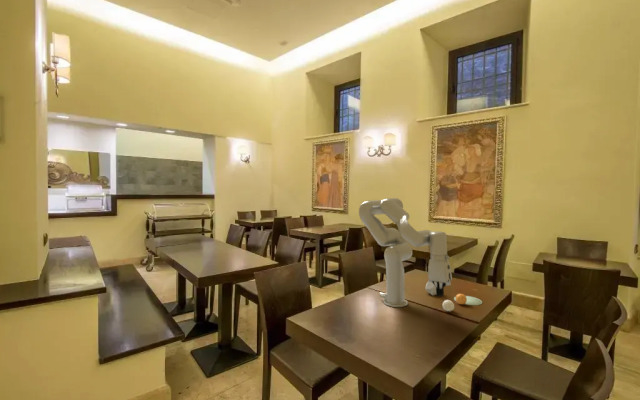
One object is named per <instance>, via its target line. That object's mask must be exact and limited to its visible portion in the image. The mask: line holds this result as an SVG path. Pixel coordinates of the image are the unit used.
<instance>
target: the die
mask: <svg viewBox="0 0 640 400" xmlns="http://www.w3.org/2000/svg"><path fill="white" fill-rule="evenodd" d="M424 289H425V291H426V292H427V293H428V294H430V295H431V296H435V295H436V296H437V293H436V287H435V285H434V284H433V283H431V282H429V280H428V281H427V282H426V284H425V288H424Z"/></svg>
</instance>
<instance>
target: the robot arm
mask: <svg viewBox="0 0 640 400" xmlns="http://www.w3.org/2000/svg"><path fill="white" fill-rule="evenodd" d="M376 215H377V216H378V215H379V216H380V215H385V216H387V217H388V218H389V219H390V220H391V221H392V222H393V223H394V224H395V225H396V226H397V228H394V227H386V226H385V225H384V224H383V223H382V221H381V219H379V218H378V217H377V216H376ZM358 216H359V219H360V222H362V223H363V225H364V226H365V227H366V229H367V230H368V231H369V232H370V234H371V236H372V237H373V239H374V240H375V241H376V242H377V245H379V246H381V247H386V248H385V250H384V252H383V253H384V254H383V257H384V261H385V276H386V281H385V284H386V288H385V290H386V293H385V292H379V297H380V298H383V304H385V305H386V306H388V307H393V308H403V307H407V306H408V300H407V299H405V268H404V264H403V262H404V261H407V260H409V259H411V257H412V256H413V249H412V247H414V248H415V247H416V248H421V247H426V246H429V251H430V252H429V253H430V254H429V255H430V259H429V260H428V266H427V277H428V281H429V282H431V283H433V284H434V285H435V287H436V293H437V294H436V297H439V298H440V297H443V296H444V294H445V292H444V290H445V289H444V288H445V287H446V286H451V285H452V282H451V281H452V280H453V279H452V278H453V275H452V267H451V262H450V259H451V258H450V256H449V255H448V243H447V239H448V238H447V233H446V232H445V231H433V230H427V229H423V230H416V228H414V227H413V226H412V225H411V224H410V222H409V219H410V214H409V212H407V211H406V210H405V209H404V203H403V202H402V200H401V199H399V198H397V197H388V198H384V199H377V200H376V199H375V200H374V199H372V200H365V201H364V202H362V203H361V204H360V205H359V208H358Z"/></svg>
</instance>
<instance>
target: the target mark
mask: <svg viewBox="0 0 640 400" xmlns="http://www.w3.org/2000/svg"><path fill="white" fill-rule="evenodd" d="M465 296H466V298H467V302H466V303H465V304H464V305H465V306H466V305H467V306H479V305H482V304H483V301H482V300H481V299H479V298H478V297H474V296H470V295H465ZM455 298H456V296H454V297H453V300H454V301H455V302H456V299H455Z"/></svg>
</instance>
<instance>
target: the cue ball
mask: <svg viewBox="0 0 640 400" xmlns="http://www.w3.org/2000/svg"><path fill="white" fill-rule="evenodd" d="M441 306H442V308H443V310H444V311H445V312H452V311H453V310H454V309H455V304H454V302H453V301H452V300H450V299H444V301H443V302H442V305H441Z"/></svg>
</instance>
